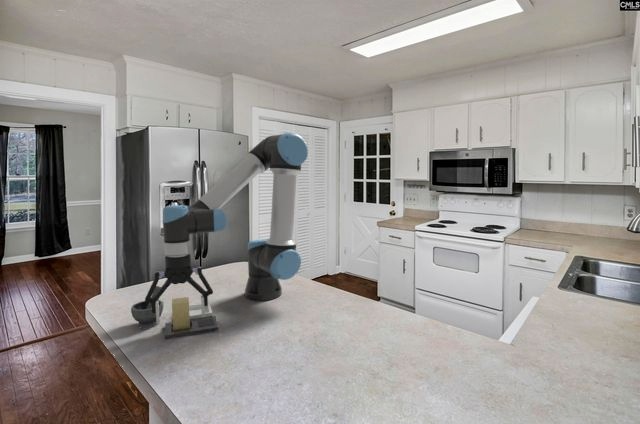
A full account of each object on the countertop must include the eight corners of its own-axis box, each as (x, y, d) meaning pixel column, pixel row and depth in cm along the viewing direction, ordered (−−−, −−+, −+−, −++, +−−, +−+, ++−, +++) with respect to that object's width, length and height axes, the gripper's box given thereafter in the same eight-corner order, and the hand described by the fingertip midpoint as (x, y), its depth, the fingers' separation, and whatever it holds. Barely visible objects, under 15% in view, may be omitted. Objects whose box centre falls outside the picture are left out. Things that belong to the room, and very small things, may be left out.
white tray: (209, 307, 136) (209, 302, 136) (212, 318, 126) (212, 312, 125) (178, 312, 132) (178, 306, 132) (178, 323, 122) (178, 317, 121)
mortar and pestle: (147, 332, 115) (145, 296, 114) (125, 328, 119) (123, 293, 117) (173, 319, 126) (171, 285, 124) (152, 315, 129) (150, 283, 128)
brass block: (189, 325, 120) (188, 296, 119) (190, 332, 116) (188, 302, 114) (173, 328, 118) (172, 299, 117) (173, 334, 114) (171, 304, 113)
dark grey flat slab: (215, 318, 126) (215, 315, 126) (218, 330, 116) (218, 326, 116) (165, 326, 120) (165, 322, 120) (164, 339, 111) (164, 335, 110)
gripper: (217, 248, 122) (219, 309, 125) (134, 255, 113) (139, 320, 115) (219, 253, 115) (222, 317, 118) (132, 261, 106) (137, 330, 109)
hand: (181, 319), depth 117 cm, fingers open, 13 cm apart
